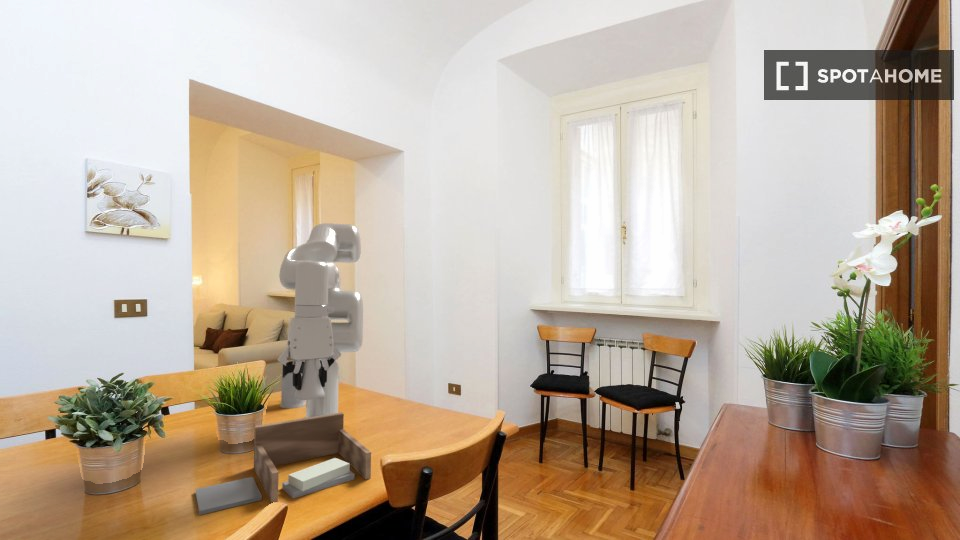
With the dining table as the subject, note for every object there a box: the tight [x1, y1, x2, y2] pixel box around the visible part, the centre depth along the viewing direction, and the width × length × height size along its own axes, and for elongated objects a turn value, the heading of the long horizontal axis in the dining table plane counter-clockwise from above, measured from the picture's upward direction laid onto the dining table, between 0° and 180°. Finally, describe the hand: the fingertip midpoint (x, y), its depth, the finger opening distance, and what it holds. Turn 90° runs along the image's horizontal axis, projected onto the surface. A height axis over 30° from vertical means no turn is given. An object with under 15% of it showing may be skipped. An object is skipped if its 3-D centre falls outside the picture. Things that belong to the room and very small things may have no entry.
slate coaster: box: [194, 476, 263, 516], centre depth 96 cm, size 11×11×1 cm
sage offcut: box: [287, 457, 351, 491], centre depth 103 cm, size 5×12×2 cm, turn 144°
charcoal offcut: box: [281, 470, 355, 499], centre depth 103 cm, size 6×14×2 cm, turn 133°
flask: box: [294, 359, 325, 401], centre depth 111 cm, size 7×7×10 cm
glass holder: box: [279, 360, 306, 409], centre depth 168 cm, size 9×14×15 cm, turn 25°
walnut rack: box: [253, 412, 372, 504], centre depth 109 cm, size 21×21×10 cm
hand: (309, 386), depth 111 cm, fingers closed on flask, 4 cm apart
